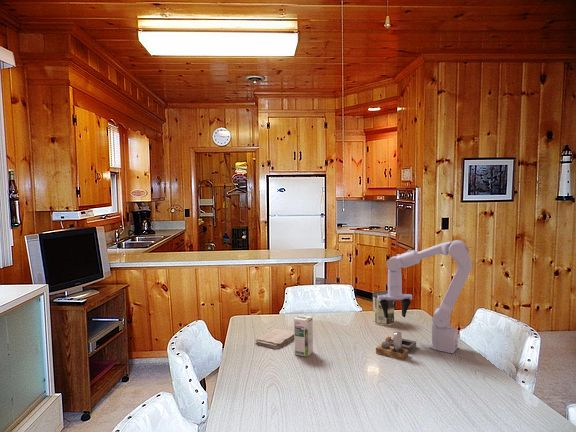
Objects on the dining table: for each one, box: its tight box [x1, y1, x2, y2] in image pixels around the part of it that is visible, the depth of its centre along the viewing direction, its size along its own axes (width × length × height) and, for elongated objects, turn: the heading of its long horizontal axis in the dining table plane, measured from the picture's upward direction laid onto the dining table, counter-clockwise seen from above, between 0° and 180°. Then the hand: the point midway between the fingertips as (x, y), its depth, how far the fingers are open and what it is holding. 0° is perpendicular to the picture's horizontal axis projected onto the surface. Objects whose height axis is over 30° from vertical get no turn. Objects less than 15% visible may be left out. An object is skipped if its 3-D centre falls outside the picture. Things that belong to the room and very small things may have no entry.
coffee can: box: [372, 291, 395, 327], centre depth 187 cm, size 10×10×14 cm
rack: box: [375, 341, 409, 361], centre depth 149 cm, size 11×5×4 cm, turn 52°
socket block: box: [389, 337, 417, 354], centre depth 156 cm, size 9×8×2 cm
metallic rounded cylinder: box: [392, 331, 403, 354], centre depth 148 cm, size 3×3×9 cm
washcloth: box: [255, 328, 294, 350], centre depth 166 cm, size 12×18×3 cm, turn 149°
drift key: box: [384, 336, 393, 342], centre depth 158 cm, size 5×3×3 cm
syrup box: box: [293, 314, 314, 358], centre depth 151 cm, size 6×6×14 cm
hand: (394, 316), depth 162 cm, fingers open, 7 cm apart
